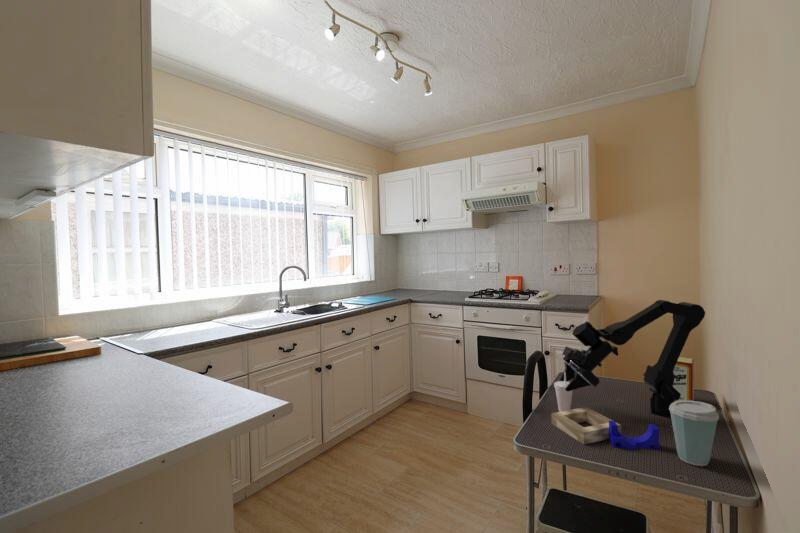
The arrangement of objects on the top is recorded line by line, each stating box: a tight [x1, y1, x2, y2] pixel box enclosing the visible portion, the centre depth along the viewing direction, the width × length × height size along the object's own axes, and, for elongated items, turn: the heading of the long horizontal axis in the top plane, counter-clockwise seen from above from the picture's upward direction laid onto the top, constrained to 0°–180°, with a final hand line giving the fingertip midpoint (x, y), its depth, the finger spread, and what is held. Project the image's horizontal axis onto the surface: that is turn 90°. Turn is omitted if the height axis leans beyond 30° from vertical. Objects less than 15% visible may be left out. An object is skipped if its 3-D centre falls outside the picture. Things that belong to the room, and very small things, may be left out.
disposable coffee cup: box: [669, 400, 720, 467], centre depth 101 cm, size 11×11×15 cm
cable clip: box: [608, 420, 660, 451], centre depth 109 cm, size 12×4×6 cm, turn 74°
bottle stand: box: [550, 406, 622, 445], centre depth 119 cm, size 14×14×4 cm
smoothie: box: [553, 371, 574, 412], centre depth 132 cm, size 6×6×14 cm
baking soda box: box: [673, 356, 695, 401], centre depth 138 cm, size 10×6×16 cm
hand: (562, 386), depth 131 cm, fingers closed on smoothie, 6 cm apart
